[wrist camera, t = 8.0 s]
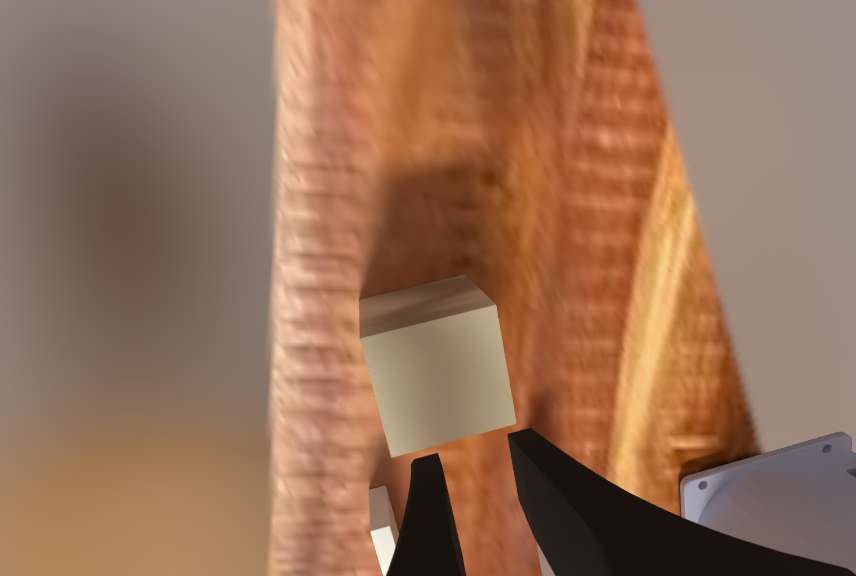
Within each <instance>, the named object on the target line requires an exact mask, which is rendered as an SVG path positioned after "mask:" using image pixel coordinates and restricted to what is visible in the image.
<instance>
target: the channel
mask: <svg viewBox="0 0 856 576" xmlns="http://www.w3.org/2000/svg"><path fill="white" fill-rule="evenodd" d="M369 508H370V532H371V535H372V539H373V542H374V545H375V549H376V552H377V556H378V559H379V563H380V566H381V569H382V573H383V576H386V574H387V571H388V568H389V566H390V563H391V560H392V557H393V554H394V550H395V547H396V544H397V540H398V537H399V532H398V528H397V524H396V521H395V517H394V513H393V509H392V506H391V502H390V498H389V495H388V491H387V487H386V485H385V486H381V487H377V488H374V489H370V490H369ZM536 542H537V541H536ZM537 548H538V554H539V560H540V566H541V573H542V576H555V574H554V573H553V571H552V569H551V567H550V565H549V563H548V562H547V560H546V558H545V556H544V554H543V552H542V551H541V549H540V547H539V545H538V543H537Z"/></svg>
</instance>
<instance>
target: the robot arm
mask: <svg viewBox="0 0 856 576" xmlns="http://www.w3.org/2000/svg"><path fill="white" fill-rule="evenodd" d="M507 435H508V441H509V447H510V452H511V458H512V464H513V470H514V475H515V481H516V487H517V493H518V498H519V501H520V504H521V506H522V509H523V511H524V514H525V516H526V519H527V521H528V523H529V526H530V528H531V531H532V533H533V535H534V538H535V539H536V541H537V543H538V545H539V547H540V549H541V551H542V552H543V554H544V556H545V558H546V560H547V562H548V563H549V565H550V567H551V569H552V571H553V573H554V574H555V576H856V453H854V452H852V451H851V448H852V439H851V437H850V436H849V435H847V434H845V433H843V432H836V433H833V434H830V435H826V436H823V437H819V438H816V439H812V440H809V441H805V442H802V443H799V444H796V445H792V446H788V447H785V448H781V449H778V450H774V451H771V452H767V453H764V454H760V455H757V456H754V457H750V458H747V459H743V460H740V461H736V462H733V463H729V464H726V465H722V466H719V467H715V468H712V469H709V470H705V471H702V472H698V473H695V474H691V475H688V476H686V477H684V478H683V479H682V481H681V483H680V495H681V514H682V517H680V516H678V515H675V514H673V513H671V512H668V511H666V510H664V509H662V508H660V507H658V506H656V505H653V504H651V503H649V502H647V501H645V500H643V499H641V498H639V497H637V496H635V495H633V494H631V493H629V492H627V491H625V490H624V489H622V488H620V487H618V486H617V485H615V484H613V483H611V482H610V481H608V480H606V479H604V478H603V477H601V476H600V475H598V474H596V473H595V472H593V471H592V470H590V469H589V468H587V467H585V466H584V465H582V464H581V463H579V462H578V461H576V460H575V459H573V458H572V457H570V456H569V455H567V454H566V453H565V452H563V451H562V450H560V449H559V448H557V447H556V446H555V445H553V444H552V443H551V442H549V441H548V440H546V439H545V438H544V437H542V436H541V435H540V434H538V433H537V432H535V431H534V430H532V429H531V428H528V429H524V430H521V431H517V432H513V433H509V434H507ZM386 576H466V573H465V567H464V561H463V556H462V551H461V547H460V542H459V538H458V534H457V529H456V525H455V520H454V516H453V511H452V507H451V503H450V498H449V494H448V489H447V485H446V480H445V476H444V472H443V468H442V465H441V461H440V458H439V455H438V453H435V454H432V455H428V456H424V457H421V458H417V459H414V461H413V462H412V463H411V480H410V488H409V494H408V500H407V505H406V509H405V514H404V518H403V523H402V527H401V530H400V533H399V537H398V540H397V544H396V547H395V550H394V554H393V557H392V560H391V563H390V566H389V568H388V571H387V574H386Z"/></svg>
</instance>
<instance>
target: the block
mask: <svg viewBox="0 0 856 576" xmlns="http://www.w3.org/2000/svg"><path fill="white" fill-rule="evenodd" d="M359 324H360V341H361V345H362V349H363V353H364V356H365V360H366V364H367V368H368V371H369V375H370V379H371V383H372V386H373V390H374V394H375V398H376V401H377V405H378V409H379V413H380V416H381V420H382V424H383V428H384V431H385V435H386V439H387V443H388V446H389V450H390V454H391V458H392V457H396V456H400V455H403V454H407V453H411V452H414V451H418V450H422V449H425V448H429V447H433V446H437V445H440V444H444V443H448V442H451V441H455V440H459V439H462V438H466V437H470V436H473V435H477V434H481V433H484V432H488V431H492V430H495V429H499V428H503V427H506V426H510V425H514V424H516V418H515V412H514V406H513V400H512V395H511V389H510V383H509V377H508V371H507V365H506V360H505V354H504V348H503V342H502V336H501V330H500V324H499V319H498V313H497V307H496V304H495V303H494V302H493V301H492V300H491V299H490V298H489V297H488V296H487V295H486V294H485V293H484V292H483V291H482V290H481V289H480V288H479V287H478V286H477V285H476V284H475V283H474V282H473V281H472V280H471V279H470V278H469V277H468V276H467V275H466V274H464V275H459V276H455V277H451V278H447V279H443V280H439V281H434V282H430V283H426V284H422V285H418V286H414V287H409V288H405V289H401V290H397V291H393V292H389V293H384V294H380V295H376V296H372V297H368V298H364V299H359Z"/></svg>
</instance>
